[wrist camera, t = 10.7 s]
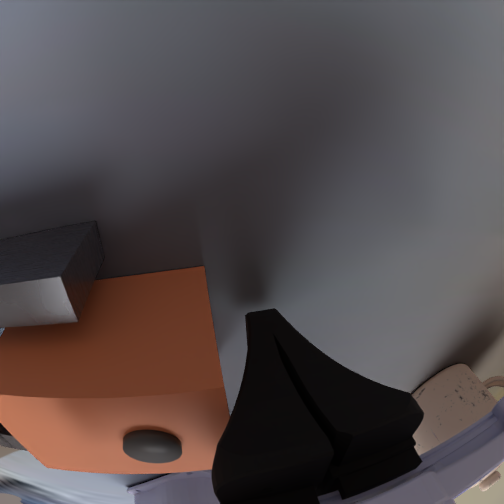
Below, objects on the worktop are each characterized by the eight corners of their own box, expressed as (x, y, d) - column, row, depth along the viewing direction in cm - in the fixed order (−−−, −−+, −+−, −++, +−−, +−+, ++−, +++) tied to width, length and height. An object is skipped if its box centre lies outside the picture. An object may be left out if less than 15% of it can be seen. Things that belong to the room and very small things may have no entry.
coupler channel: (16, 396, 14) (1, 446, 10) (-62, 255, 9) (-105, 300, 5) (154, 394, 15) (155, 457, 12) (95, 220, 10) (59, 276, 7)
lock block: (68, 368, 13) (45, 473, 8) (29, 288, 11) (-30, 398, 5) (217, 355, 14) (241, 472, 9) (204, 265, 12) (226, 396, 7)
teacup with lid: (392, 436, 25) (439, 521, 15) (389, 400, 21) (456, 513, 11) (480, 375, 25) (534, 445, 15) (495, 325, 21) (570, 407, 10)
